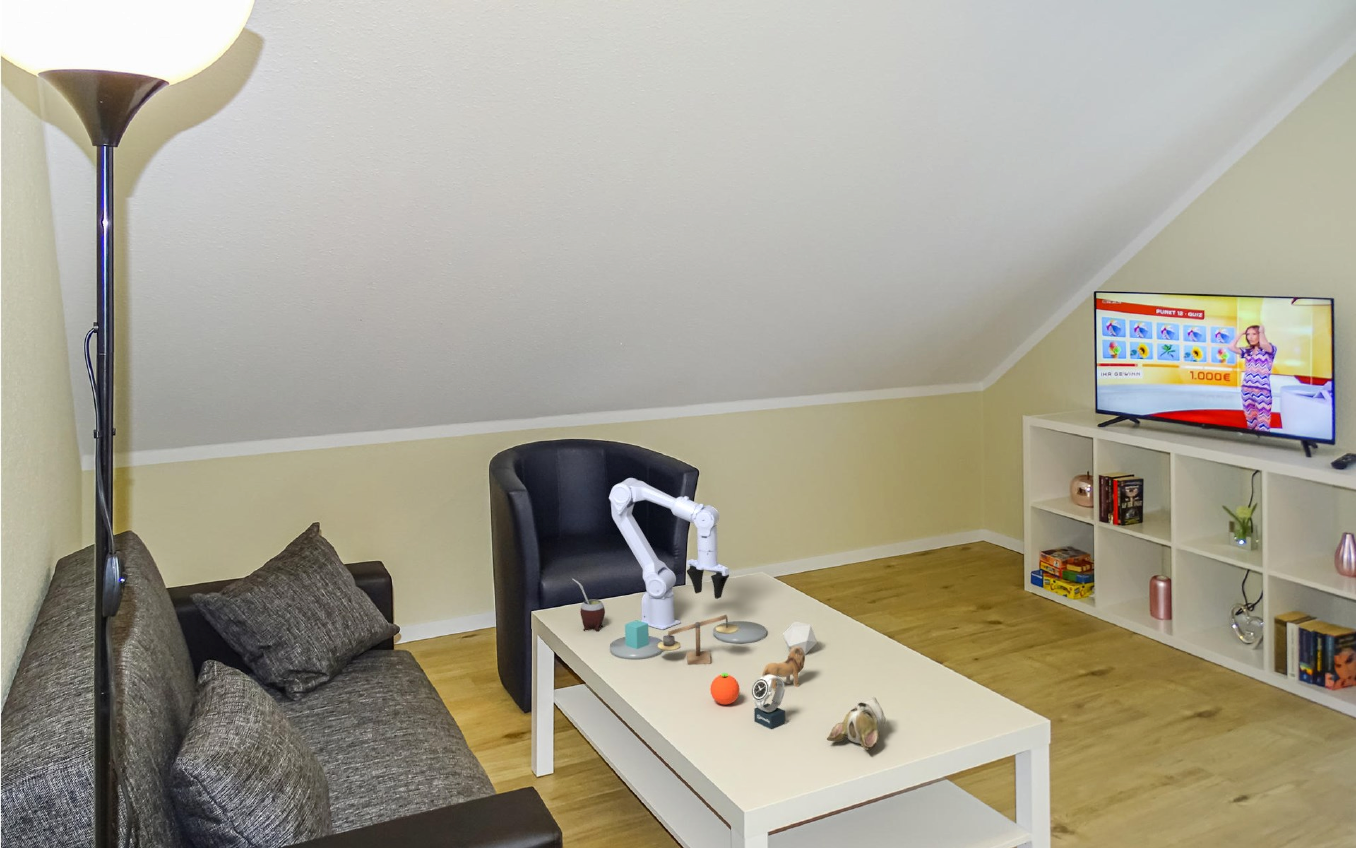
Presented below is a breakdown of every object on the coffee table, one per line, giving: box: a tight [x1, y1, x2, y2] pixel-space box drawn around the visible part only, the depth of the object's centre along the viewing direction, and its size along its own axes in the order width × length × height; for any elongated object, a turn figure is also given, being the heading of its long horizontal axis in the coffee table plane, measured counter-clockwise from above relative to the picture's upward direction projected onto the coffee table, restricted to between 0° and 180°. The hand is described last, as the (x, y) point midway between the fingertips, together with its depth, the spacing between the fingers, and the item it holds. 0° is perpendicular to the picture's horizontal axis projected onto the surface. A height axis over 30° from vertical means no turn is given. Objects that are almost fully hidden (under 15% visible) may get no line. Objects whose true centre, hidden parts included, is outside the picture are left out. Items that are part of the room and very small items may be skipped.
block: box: [624, 619, 650, 649], centre depth 278 cm, size 4×4×6 cm
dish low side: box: [609, 635, 665, 660], centre depth 278 cm, size 15×15×1 cm
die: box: [782, 620, 818, 655], centre depth 274 cm, size 8×9×10 cm
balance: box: [658, 614, 738, 665], centre depth 269 cm, size 21×6×12 cm, turn 92°
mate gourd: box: [571, 578, 606, 633], centre depth 295 cm, size 8×8×15 cm
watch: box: [751, 674, 786, 730], centre depth 230 cm, size 6×8×11 cm
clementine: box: [709, 672, 740, 705], centre depth 242 cm, size 8×7×7 cm
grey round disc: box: [712, 620, 767, 645], centre depth 288 cm, size 15×15×1 cm
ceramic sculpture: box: [826, 696, 887, 751], centre depth 221 cm, size 11×9×15 cm
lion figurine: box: [761, 647, 806, 691], centre depth 250 cm, size 15×5×9 cm, turn 129°
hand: (708, 595), depth 292 cm, fingers open, 7 cm apart
